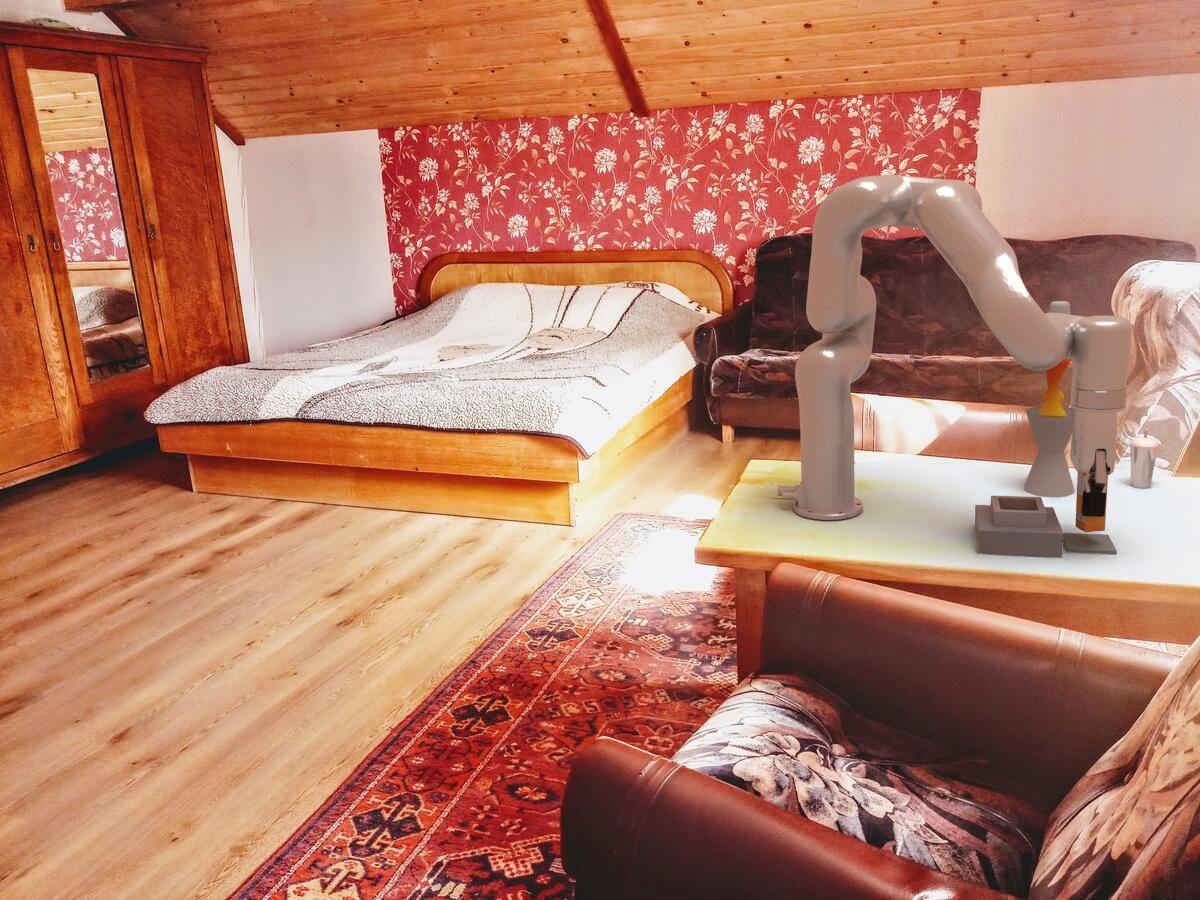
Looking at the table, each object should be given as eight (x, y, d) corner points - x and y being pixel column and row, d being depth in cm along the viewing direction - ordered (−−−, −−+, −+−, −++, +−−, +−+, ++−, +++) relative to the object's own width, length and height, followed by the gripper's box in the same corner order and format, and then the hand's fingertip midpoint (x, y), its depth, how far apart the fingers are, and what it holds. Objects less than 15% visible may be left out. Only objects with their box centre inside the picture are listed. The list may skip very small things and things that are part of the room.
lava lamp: (1079, 498, 168) (1093, 304, 158) (1024, 496, 171) (1035, 306, 161) (1071, 482, 176) (1084, 297, 167) (1019, 481, 179) (1029, 299, 169)
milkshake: (1155, 481, 173) (1160, 430, 170) (1154, 490, 169) (1159, 437, 166) (1127, 479, 175) (1132, 428, 173) (1125, 488, 171) (1130, 435, 168)
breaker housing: (978, 553, 148) (980, 515, 146) (974, 526, 159) (975, 490, 157) (1061, 557, 144) (1064, 518, 143) (1051, 529, 155) (1054, 493, 153)
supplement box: (1093, 523, 149) (1098, 464, 146) (1105, 531, 146) (1110, 471, 143) (1073, 525, 149) (1077, 466, 146) (1084, 533, 146) (1089, 473, 143)
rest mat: (1066, 551, 146) (1066, 549, 146) (1060, 535, 153) (1060, 532, 152) (1116, 554, 144) (1116, 551, 144) (1108, 537, 150) (1108, 534, 150)
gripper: (1063, 385, 150) (1056, 492, 156) (1079, 411, 135) (1071, 528, 140) (1115, 385, 148) (1106, 494, 153) (1137, 411, 133) (1127, 531, 138)
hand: (1090, 509), depth 147 cm, fingers closed on supplement box, 3 cm apart
